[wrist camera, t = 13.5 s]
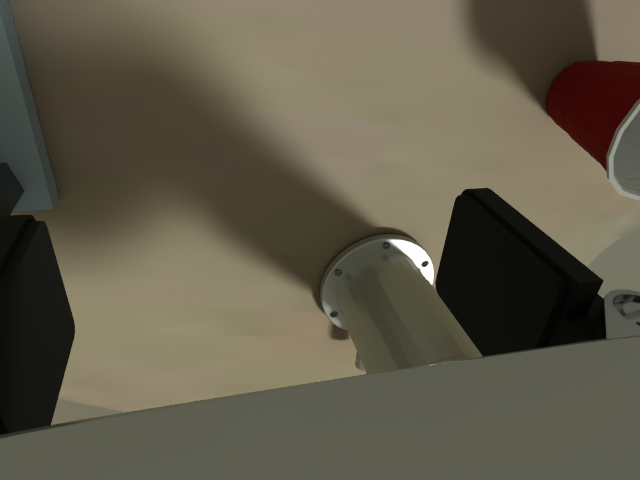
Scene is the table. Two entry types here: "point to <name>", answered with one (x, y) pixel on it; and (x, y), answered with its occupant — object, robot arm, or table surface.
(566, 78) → the plastic cup
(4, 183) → the shaft
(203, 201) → the table surface
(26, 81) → the board
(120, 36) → the table surface
